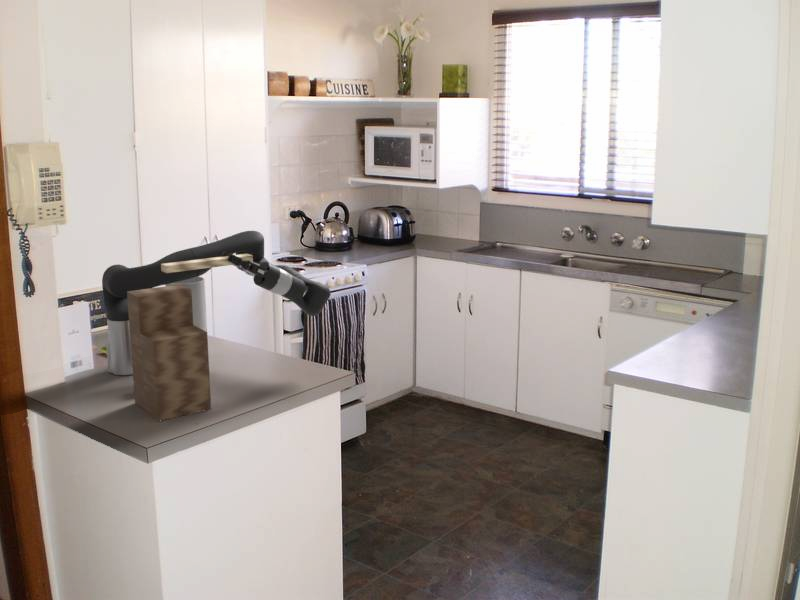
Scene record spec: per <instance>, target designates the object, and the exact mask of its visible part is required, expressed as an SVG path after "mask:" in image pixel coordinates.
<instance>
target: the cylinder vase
mask: <svg viewBox="0 0 800 600" xmlns="http://www.w3.org/2000/svg"><path fill="white" fill-rule="evenodd" d="M205 282H206V281H205V278H204V277H203V276H198V277H194V278H191V279H187V280H183V281H178V282H175V283H170V284H166V285H164V286H172V285H179V284H180V285H182V286H184V287H187V288H189V289H191V291H192V309H193V325H194V326H196V327H198V328H200V329H202V330H204V331H206V332H207V333H208V323H207V322H208V321H207V307H206V306H207V304H206V285H205Z"/></svg>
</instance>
